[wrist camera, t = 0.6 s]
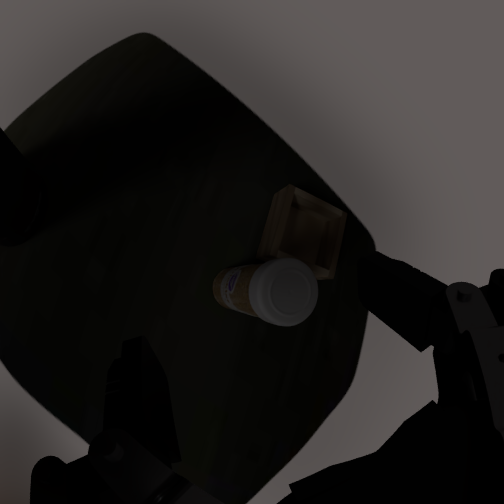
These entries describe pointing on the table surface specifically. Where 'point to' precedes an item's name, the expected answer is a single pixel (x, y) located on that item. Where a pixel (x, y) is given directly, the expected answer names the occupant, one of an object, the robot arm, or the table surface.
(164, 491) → the robot arm
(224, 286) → the sprinkles bottle
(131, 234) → the table surface
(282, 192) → the oak socket block
